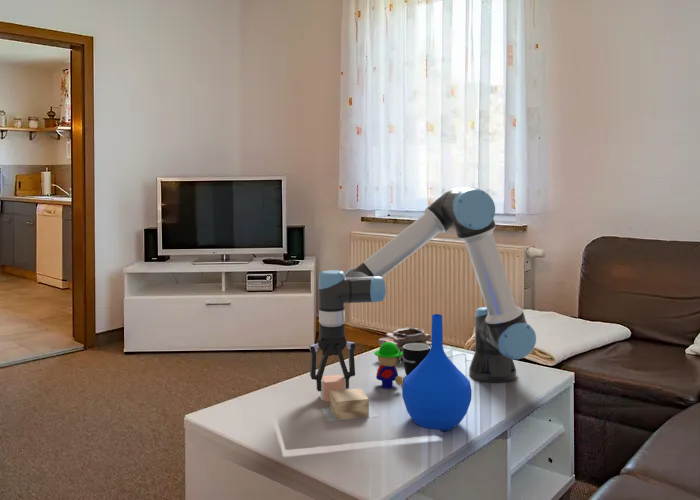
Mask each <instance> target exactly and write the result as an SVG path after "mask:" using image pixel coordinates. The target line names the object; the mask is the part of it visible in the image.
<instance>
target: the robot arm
mask: <svg viewBox="0 0 700 500" xmlns="http://www.w3.org/2000/svg"><path fill="white" fill-rule="evenodd" d="M495 216H496V204H495V202H494V200H493V198H492V197H491V196H490V194H489V193H488V192H486V191H485V190H482V189H480V188H477V187H476V188H475V187H453V188H451V189H449V190H447V191H446V192H444V193H443V194H442V195H440V196H439V197H438V198H437V199H436V200H435V201H433V202H432V203H431V204H430V205H428V206H427V207H426V208H425V209H424V213H423V214H422V215H421V216H420V217H418V218H417V219H416V220H414V221H413V222H412V223H411V224H410V225H409V226H407V227H406V228H405V229H403V230H402V231H401V232H399V234H397V235H395V236H394V237H393V238H392V239H391V240H390V241H388V242H387V243H386V244H384V245H383V246H382V247H380V248H379V249H378V250H377V251H376V252H374V253H373V254H372V255H371V256H369V257H368V258H367V259H365V260H364V261H363V262H362V263H361V264H359V265H357V267H354V268H351V269H348V270H347V271H346V272H344V271H343V270H334V269H331V270H330V269H329V270H324V271H320V272H319V275H318V286H317V288H318V322H319V326H318V334H319V337H318V342H317V343H314V344H309V346H308V348H309V351H310V370H309V376H310V378H311V380H314V381H316V390H317V392H319V398H320V400H321V401H324V381H323V379H322V376H324V372H325V369H326V365H327V361H328V359H329V357H330V356H337V360H338V362H339V365H340V368H341V371H342V374H343V376H342V377H343V379H344V380H345V390H348V389H350V379H351V378H352V377H355V376H356V365H355V364H356V362H355V349H356V344H355V342H353V341H347V339H346V325H345V322H346V317H345V316H346V315H345V313H346V312H345V311H346V310H345V307H346V306H345V304H358V303H359V304H360V303H377V302H383V301H384V300H385V298H386V294H387V293H386V292H387V291H386V290H387V289H386V288H387V286H386V281H385V278H384V277H385V276H387V275H388V274H389V273H390V272H392V271H393V270H394V269H395V268H396V267H398V266H399V265H400V264H402V263H403V262H404V261H405V260H407V258H409V257H411V256H412V255H413V254H414V253H416V251H418V250H419V249H420V248H422V247H424V245H426V244H427V243H428V242H429V241H431V240H432V239H433V238H434V237H436V236H437V235H438V234H439V233H443V234H445V233H446V232H447V231H449V230H451V229H452V228H453V227H454V230H455V232H456V235H457V238H458V239H460V240H461V241H463V242H464V244H465V247H466V249H467V253H468V255H469V259H470V262H471V265H472V268H473V270H474V274H475V277H476V279H477V283H478V286H479V289H480V292H481V296H482V298H483V301H484V304H485V306H482V307H478V308H477V309H476V310H475V316H474V323H475V325H474V354H473V357H472V358H471V359H472V360H471V362H470V365H469V369H468V370H469V372H468V373H469V376H470V377H471V378H472V379H475V380H478V381H480V382H481V381H482V382H488V383H506V382H512V381H513V379H514V380H515V379H516V378H517V369H516V366H515V365H516V364H515V361H514V360H520V359H523V358H525V357H527V356H529V355H530V354H531V353H532V352H533V350H534V348H535V346H536V343H537V334H536V331H535V329H534V328H533V327H532V326H531V325H530V324H529V323H527V320H526V317H525V314H524V311H523V308H522V307H520V306H518V305H516V302H515V298H514V296H513V293H512V289H511V286H510V283H509V280H508V276H507V273H506V271H505V267H504V265H503V261H502V258H501V255H500V252H499V250H498V246H497V243H496V240H495V236H494V230H495V229H496V227H497V226H496V223H495V222H496V221H495V219H494V218H495ZM345 348H347V353H348V367H349V368H348V369H349V371H348V369H347V365H346V362H345V359H344V355H343V350H344V349H345ZM318 349H320V350H321V351H322V353H321V358H320V361H319V366H318V369H317V352H318Z"/></svg>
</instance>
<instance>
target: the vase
mask: <svg viewBox="0 0 700 500" xmlns="http://www.w3.org/2000/svg"><path fill="white" fill-rule="evenodd" d="M443 332H444V331H443V314H440V313H439V314H438V313H435V314H432V315H431V334H430V336H431V339H430V340H431V341H430V343H431V348H430V352H429V353H428V355H427V356H426V357H425V358H424V360H423V361H422V362H421V363H420V364H419V365H418V366H417V367H416V368H415V369H414V370H413V371H412V372H411V373H410V374H409V375H408V376H407V375H406V376H405V378H404V380H403V383H402V384H403V385H402V389H401V393H402V399H403V403H404V405H405V408H406V411H407V414H408V415H409V417H410V418H411V419H412V422H414V423H415V424H416V425H418V426H419V427H422V428H426V429H430V430H431V429H433V430H439V431H440V432H446V431H450V430H452V429H454V428H456V427H457V426H458V425H459V424H460V423H461V422H462V421H463V419H464V418H465V416H466V415H467V413H468V410H469V407H470V405H471V402H472V390H473V389H472V386H471V381H470V380H469V378H468V377H466V375H464V374H463V372H462V371H461V370H460V369H459V368H458V367H457V366H456V365H455V364H454V362H452V361H451V360H452V359H450V358H449V357H448V356H447V354H446V351H445V350H444V347H443V342H444V340H443V338H444V337H443Z"/></svg>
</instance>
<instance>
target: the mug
mask: <svg viewBox="0 0 700 500" xmlns="http://www.w3.org/2000/svg"><path fill="white" fill-rule="evenodd" d="M430 349H431V348H430V346H429V345H426V344H421V343H410V344H406V345H404V346H403V359H402V361H403V367H404V372H405V375H406V377H407V376H408V375H409V374H410V373H411V372H412V371H413V370H414V369H415V368H416V367H417V366H418V365H419V364H420V363H421V362H422V361H423V360H424V358H425V357H426V356H427V355H428V353H429V352H430Z"/></svg>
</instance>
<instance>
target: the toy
mask: <svg viewBox="0 0 700 500" xmlns="http://www.w3.org/2000/svg"><path fill="white" fill-rule="evenodd" d="M373 353H374V355H375V356H377V359H378V362H379V364H380V365H379V367H378V368H377V369H376V370H377V371H376V376H375V377H376V380H378V381H381V386H382V387H381V388H382V389H385V390H386V389H387V390H389V389H393V387H394V385H393V383H394V382H395V383H396V385H398V386H401V385H402V384H403V383H404V380H403V377H402V376H401V375H399V373H398V372H399V371H398V369H397V368H396V365H398V363H399V368H401V365H402V364H403V362H402V361H403V359H402V355H403V352H402V347H401V349H400V350H398V348H397V346H396V345H395V344H394V343H392V342H385V343H384V344H382V345H381V346H380V347H379V349H377V350H376V351H374V352H373Z"/></svg>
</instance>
